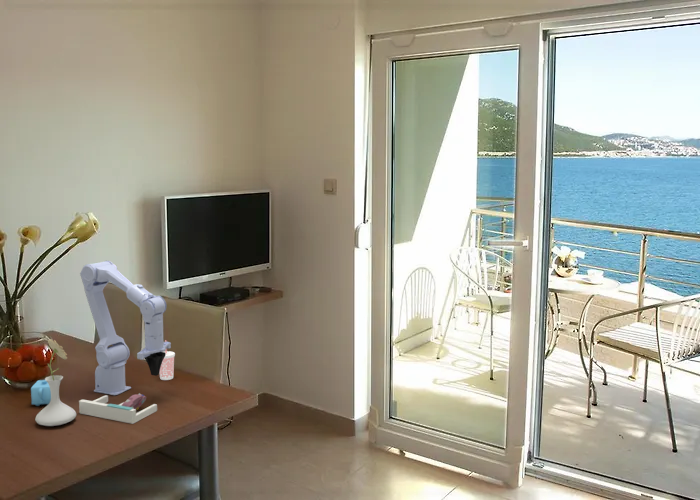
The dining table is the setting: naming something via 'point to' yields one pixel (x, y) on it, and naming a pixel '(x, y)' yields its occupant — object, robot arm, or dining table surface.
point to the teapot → (40, 393)
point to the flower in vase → (55, 397)
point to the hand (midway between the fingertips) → (155, 374)
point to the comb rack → (113, 410)
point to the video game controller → (135, 401)
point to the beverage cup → (167, 366)
